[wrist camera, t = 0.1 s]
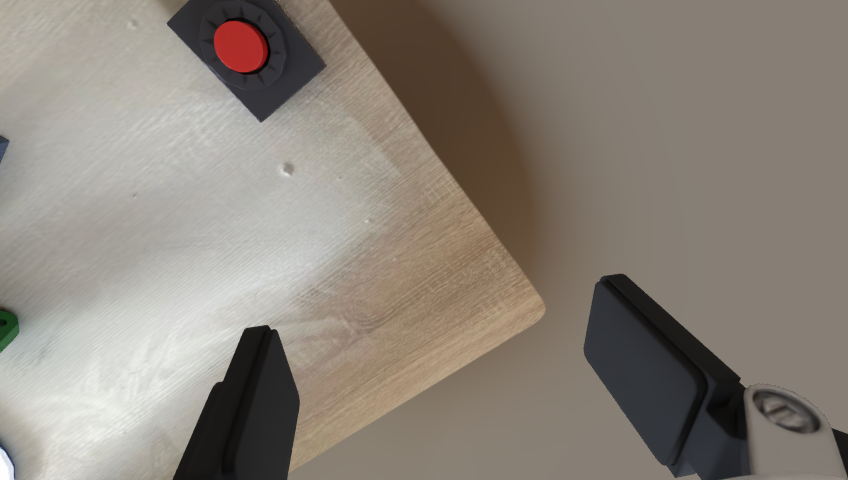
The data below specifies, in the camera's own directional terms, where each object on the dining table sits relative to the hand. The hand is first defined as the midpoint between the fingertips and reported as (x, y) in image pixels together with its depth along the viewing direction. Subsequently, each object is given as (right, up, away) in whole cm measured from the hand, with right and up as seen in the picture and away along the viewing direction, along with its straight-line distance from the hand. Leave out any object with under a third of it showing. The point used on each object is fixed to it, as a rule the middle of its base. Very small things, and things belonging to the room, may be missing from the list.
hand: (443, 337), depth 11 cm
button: (-15, +19, +20) cm, 32 cm away
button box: (-16, +21, +23) cm, 35 cm away
